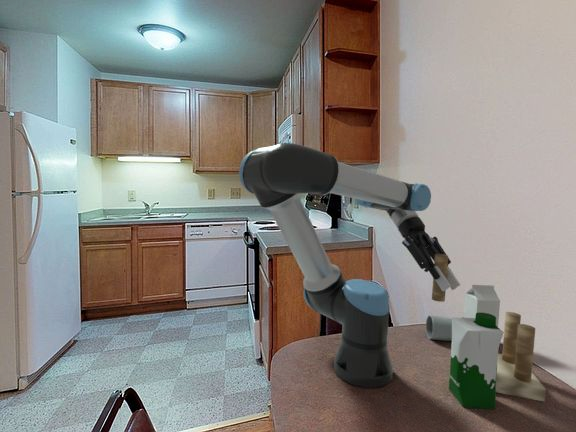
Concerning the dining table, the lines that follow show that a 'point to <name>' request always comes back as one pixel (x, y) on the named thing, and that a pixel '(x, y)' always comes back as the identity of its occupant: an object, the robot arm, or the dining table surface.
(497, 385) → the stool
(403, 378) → the dining table surface
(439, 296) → the loose leg
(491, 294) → the milk carton
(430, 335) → the ceramic mug
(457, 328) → the soya milk
